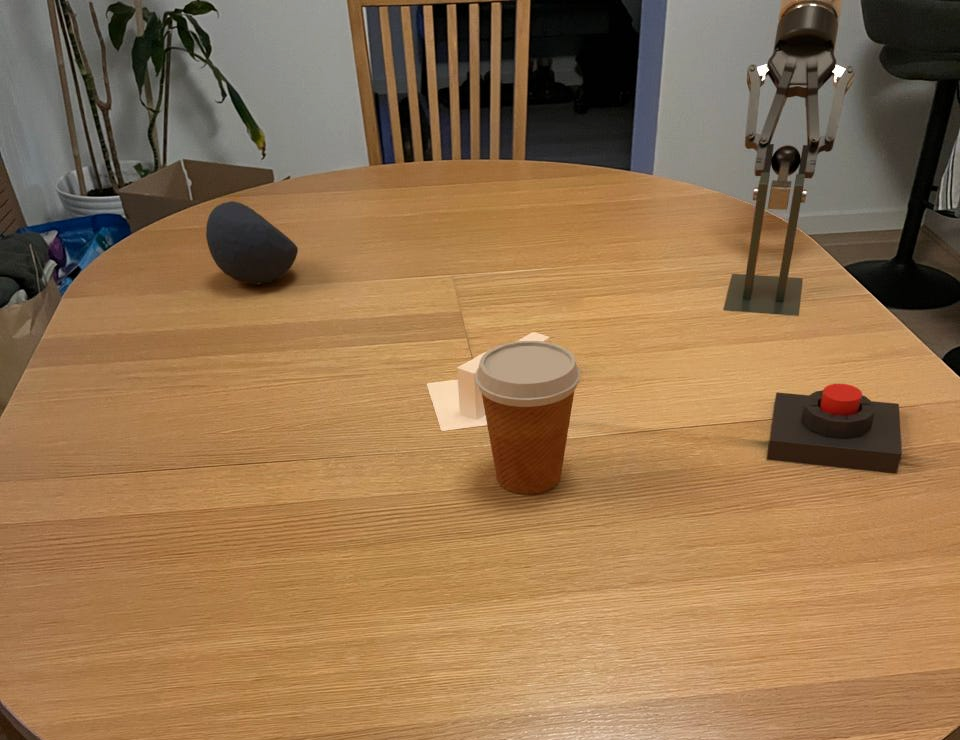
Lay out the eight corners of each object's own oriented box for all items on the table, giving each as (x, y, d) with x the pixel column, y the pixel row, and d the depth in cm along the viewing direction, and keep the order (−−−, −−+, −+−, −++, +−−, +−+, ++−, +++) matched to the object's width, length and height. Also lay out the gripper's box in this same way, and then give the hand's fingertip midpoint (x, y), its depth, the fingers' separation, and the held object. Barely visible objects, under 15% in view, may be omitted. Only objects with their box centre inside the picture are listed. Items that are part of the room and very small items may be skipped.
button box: (893, 423, 98) (903, 386, 96) (896, 474, 91) (907, 436, 89) (772, 411, 101) (779, 375, 99) (766, 459, 94) (773, 423, 92)
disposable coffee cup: (464, 493, 92) (457, 377, 84) (500, 445, 98) (497, 332, 90) (559, 511, 89) (561, 393, 81) (590, 460, 95) (594, 345, 87)
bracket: (730, 282, 127) (746, 162, 117) (801, 287, 125) (823, 165, 115) (721, 319, 119) (738, 193, 109) (797, 325, 116) (821, 197, 107)
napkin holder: (552, 366, 111) (553, 318, 107) (579, 412, 103) (581, 362, 99) (424, 383, 109) (420, 335, 105) (441, 432, 101) (437, 381, 97)
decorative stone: (242, 305, 128) (226, 228, 121) (202, 281, 135) (184, 206, 129) (317, 281, 133) (306, 206, 127) (275, 259, 140) (261, 186, 134)
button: (858, 401, 95) (862, 385, 94) (858, 419, 92) (862, 402, 91) (820, 398, 96) (823, 381, 94) (819, 415, 93) (822, 399, 92)
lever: (770, 171, 126) (774, 141, 124) (798, 172, 125) (803, 142, 123) (760, 214, 114) (765, 181, 111) (792, 215, 113) (797, 183, 111)
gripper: (871, 43, 125) (844, 217, 124) (740, 42, 129) (712, 211, 128) (882, 1, 118) (852, 187, 117) (742, 2, 122) (713, 181, 121)
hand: (779, 199), depth 123 cm, fingers closed on lever, 4 cm apart
